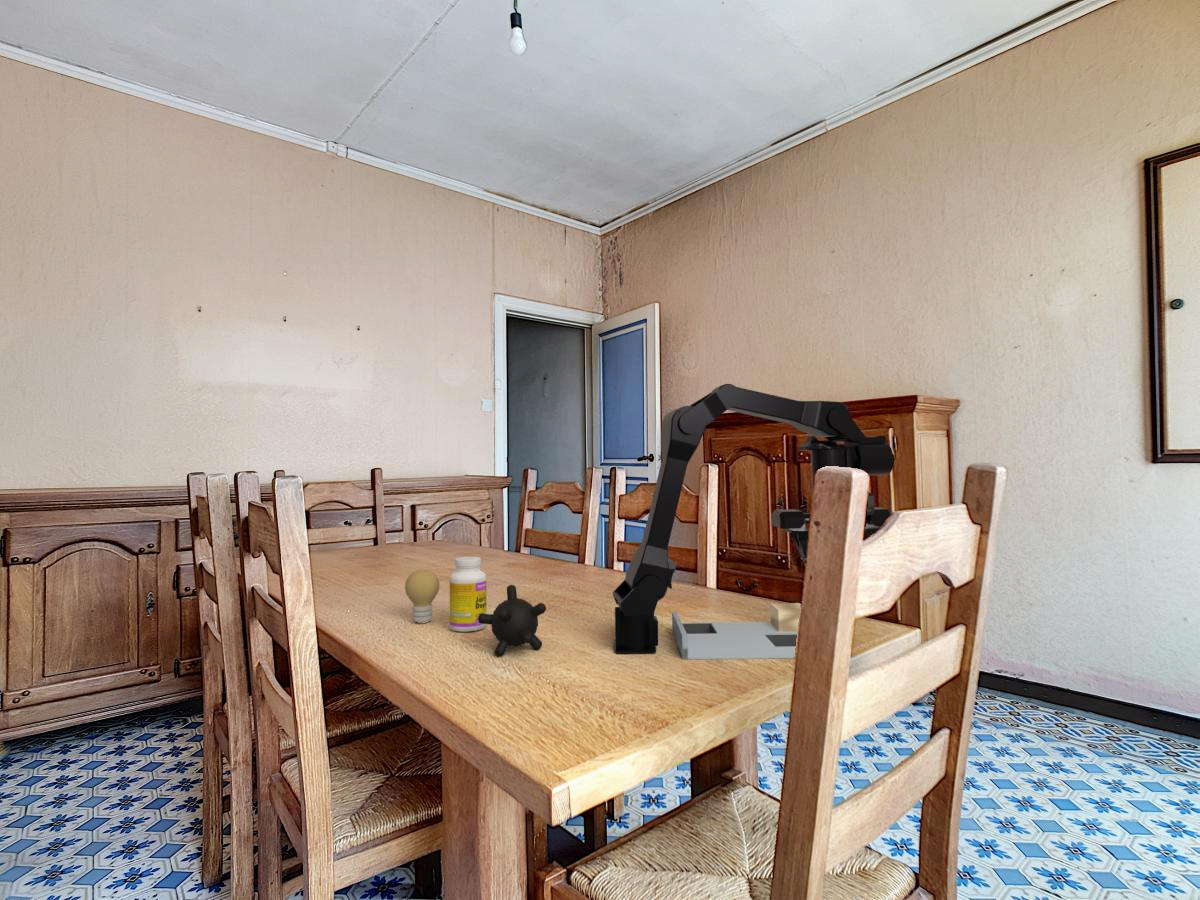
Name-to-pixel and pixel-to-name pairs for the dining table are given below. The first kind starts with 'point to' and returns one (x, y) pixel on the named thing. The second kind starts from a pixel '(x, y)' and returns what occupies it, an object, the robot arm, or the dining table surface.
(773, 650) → the board
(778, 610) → the block
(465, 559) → the supplement bottle
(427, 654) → the dining table surface
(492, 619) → the toy ball
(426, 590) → the light bulb
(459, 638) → the dining table surface
